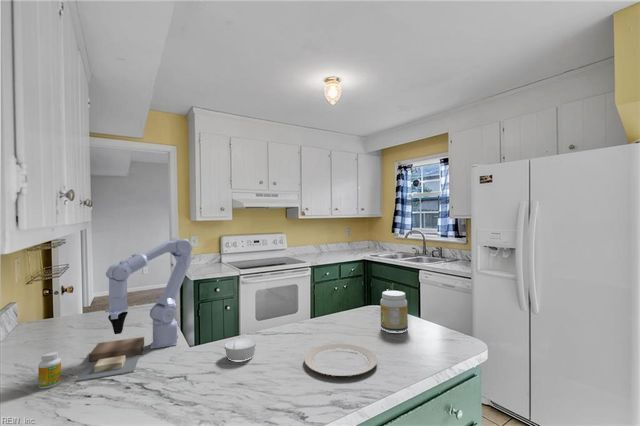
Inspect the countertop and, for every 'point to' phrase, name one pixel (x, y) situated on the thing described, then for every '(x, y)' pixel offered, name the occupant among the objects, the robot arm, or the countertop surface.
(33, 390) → the countertop surface
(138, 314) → the countertop surface
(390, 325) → the supplement tub
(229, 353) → the ramekin
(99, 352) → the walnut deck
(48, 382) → the supplement bottle
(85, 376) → the grey flat slab
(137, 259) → the robot arm
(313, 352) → the plate
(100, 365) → the birch tile
